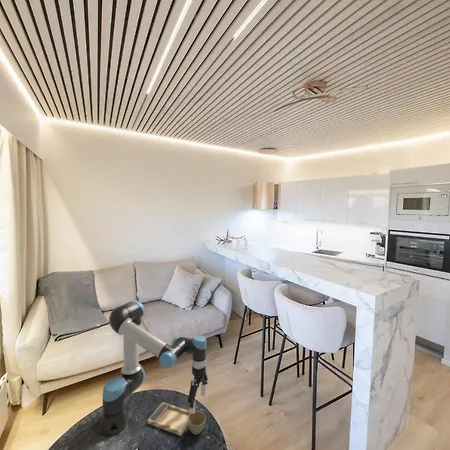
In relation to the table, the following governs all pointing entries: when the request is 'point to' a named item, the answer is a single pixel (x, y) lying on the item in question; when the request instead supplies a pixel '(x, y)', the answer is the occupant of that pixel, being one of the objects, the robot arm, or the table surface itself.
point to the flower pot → (196, 422)
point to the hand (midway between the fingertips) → (197, 403)
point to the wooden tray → (170, 418)
